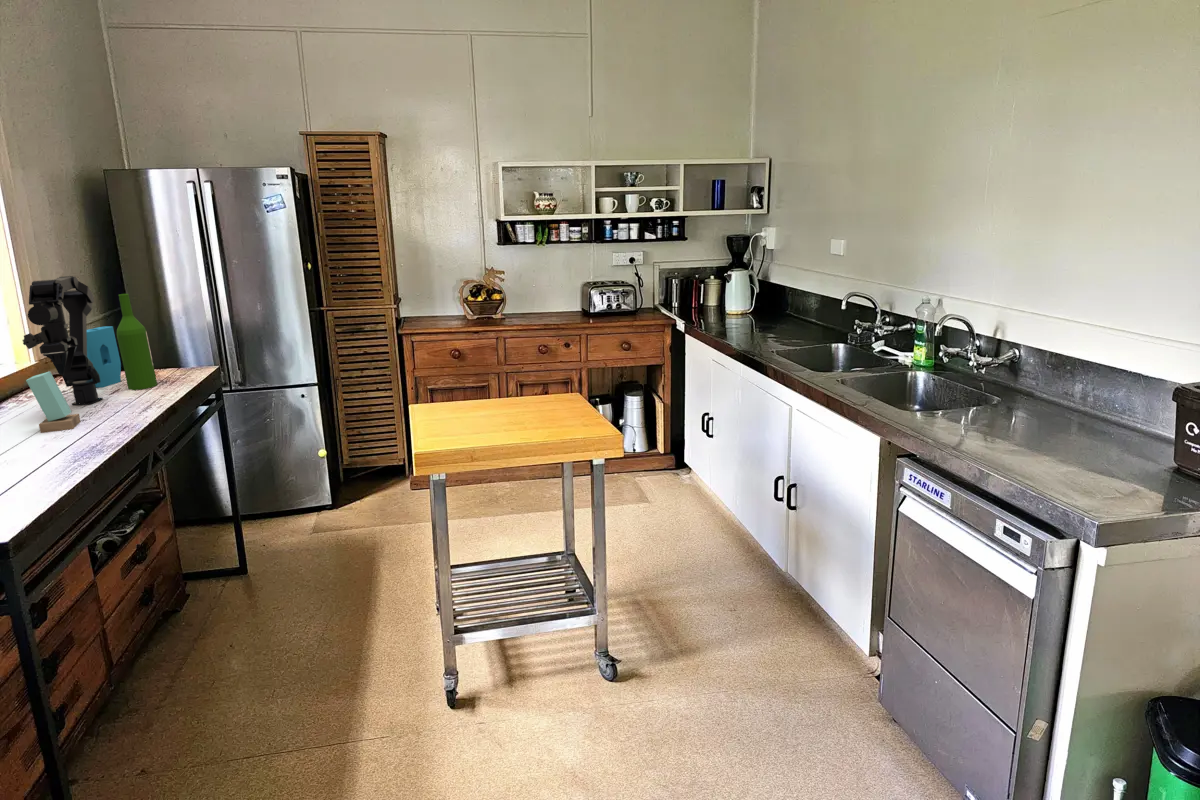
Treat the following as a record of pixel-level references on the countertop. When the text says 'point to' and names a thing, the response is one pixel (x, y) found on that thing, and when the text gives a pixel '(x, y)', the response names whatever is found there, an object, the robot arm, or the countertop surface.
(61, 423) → the walnut slab
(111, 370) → the block
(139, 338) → the wine bottle
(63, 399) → the teal block
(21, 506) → the countertop surface
